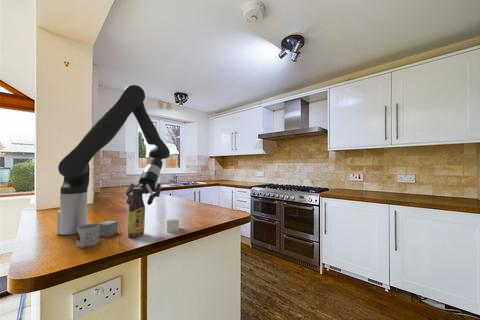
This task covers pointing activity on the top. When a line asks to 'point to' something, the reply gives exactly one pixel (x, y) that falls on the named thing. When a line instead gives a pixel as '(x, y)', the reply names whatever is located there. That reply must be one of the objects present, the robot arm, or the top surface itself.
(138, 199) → the sauce bottle
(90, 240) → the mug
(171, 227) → the off-white block
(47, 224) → the top surface
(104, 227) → the slate block
